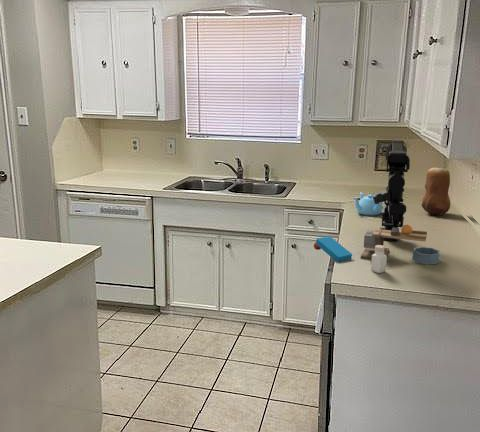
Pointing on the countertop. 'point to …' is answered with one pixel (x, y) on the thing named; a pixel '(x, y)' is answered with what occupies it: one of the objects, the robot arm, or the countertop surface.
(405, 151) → the robot arm
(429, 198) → the butternut squash
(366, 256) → the lever stand
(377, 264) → the pepper shaker
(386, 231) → the tipping lever
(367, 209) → the teapot
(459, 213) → the countertop surface
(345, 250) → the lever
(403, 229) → the ball
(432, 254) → the blue bowl
